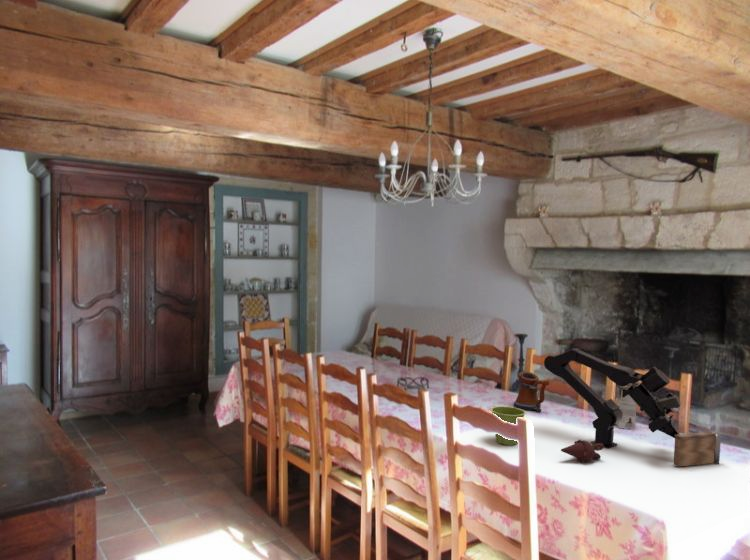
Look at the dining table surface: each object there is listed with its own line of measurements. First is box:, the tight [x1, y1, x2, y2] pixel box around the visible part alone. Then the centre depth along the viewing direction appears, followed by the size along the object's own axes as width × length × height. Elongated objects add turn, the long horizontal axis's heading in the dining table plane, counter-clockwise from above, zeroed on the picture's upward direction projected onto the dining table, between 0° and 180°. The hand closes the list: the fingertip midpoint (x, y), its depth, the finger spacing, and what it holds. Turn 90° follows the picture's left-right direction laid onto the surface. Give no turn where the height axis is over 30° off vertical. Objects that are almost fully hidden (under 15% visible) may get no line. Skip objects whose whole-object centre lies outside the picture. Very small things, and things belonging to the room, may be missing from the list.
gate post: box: [712, 432, 722, 465], centre depth 182 cm, size 2×2×10 cm
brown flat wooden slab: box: [673, 431, 716, 467], centre depth 180 cm, size 14×2×10 cm, turn 107°
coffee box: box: [614, 383, 638, 430], centre depth 220 cm, size 9×6×16 cm
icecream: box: [560, 439, 605, 463], centre depth 180 cm, size 7×7×15 cm
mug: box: [513, 371, 551, 413], centre depth 239 cm, size 18×12×15 cm, turn 24°
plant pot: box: [490, 405, 527, 446], centre depth 196 cm, size 12×12×11 cm
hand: (680, 439), depth 183 cm, fingers closed
